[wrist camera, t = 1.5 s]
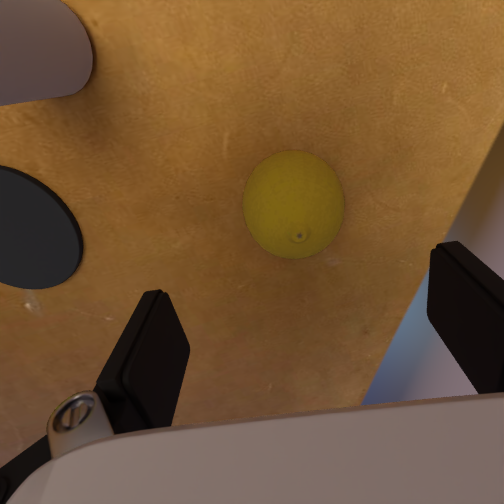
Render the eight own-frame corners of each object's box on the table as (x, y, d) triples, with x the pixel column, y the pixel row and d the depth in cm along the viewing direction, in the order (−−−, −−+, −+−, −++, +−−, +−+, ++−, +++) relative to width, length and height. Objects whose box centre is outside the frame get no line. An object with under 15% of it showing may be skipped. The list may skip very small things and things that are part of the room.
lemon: (319, 223, 23) (344, 291, 16) (242, 214, 22) (232, 279, 16) (338, 143, 20) (379, 183, 13) (250, 132, 20) (243, 167, 13)
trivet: (-83, 217, 23) (-91, 221, 23) (-12, 132, 20) (-19, 133, 20) (34, 303, 27) (30, 308, 27) (110, 243, 24) (107, 247, 24)
